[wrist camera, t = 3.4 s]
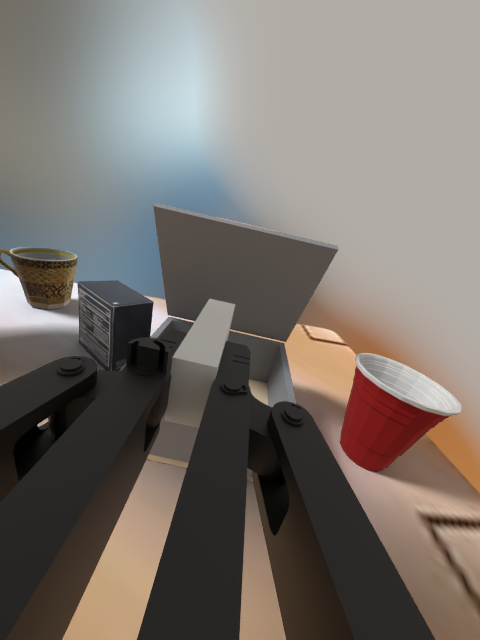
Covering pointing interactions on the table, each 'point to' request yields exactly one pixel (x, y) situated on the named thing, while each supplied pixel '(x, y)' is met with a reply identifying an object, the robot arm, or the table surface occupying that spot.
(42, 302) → the ceramic cup
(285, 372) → the grey open rectangular box
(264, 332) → the lid
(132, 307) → the small box
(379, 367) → the plastic cup
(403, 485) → the table surface
